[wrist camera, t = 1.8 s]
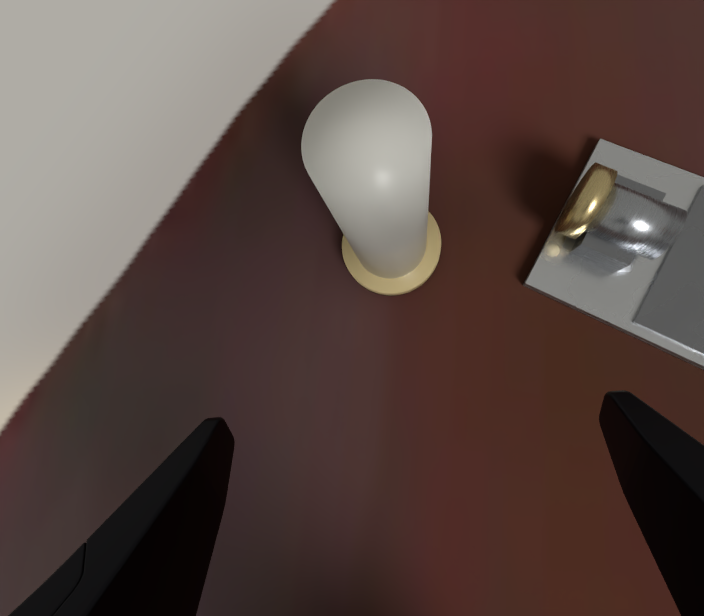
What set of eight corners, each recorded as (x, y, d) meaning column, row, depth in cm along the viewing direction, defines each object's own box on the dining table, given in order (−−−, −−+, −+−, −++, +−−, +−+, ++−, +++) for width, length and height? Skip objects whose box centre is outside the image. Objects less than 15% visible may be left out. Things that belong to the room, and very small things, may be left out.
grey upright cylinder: (365, 310, 24) (312, 258, 12) (331, 226, 25) (253, 103, 13) (456, 273, 23) (491, 180, 12) (417, 188, 24) (415, 26, 13)
